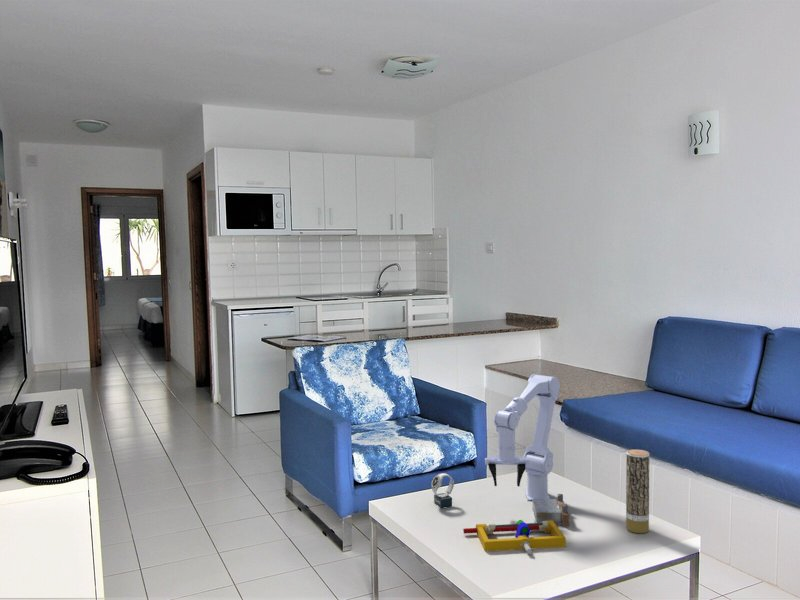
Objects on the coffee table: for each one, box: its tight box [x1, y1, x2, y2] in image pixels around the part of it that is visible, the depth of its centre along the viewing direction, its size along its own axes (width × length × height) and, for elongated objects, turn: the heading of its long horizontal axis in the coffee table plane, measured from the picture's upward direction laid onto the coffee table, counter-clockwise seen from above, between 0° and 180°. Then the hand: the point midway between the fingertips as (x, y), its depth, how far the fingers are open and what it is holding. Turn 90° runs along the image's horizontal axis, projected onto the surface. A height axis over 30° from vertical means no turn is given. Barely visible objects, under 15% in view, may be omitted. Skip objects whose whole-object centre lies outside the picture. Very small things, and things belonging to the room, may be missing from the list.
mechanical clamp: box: [462, 519, 567, 554], centre depth 206 cm, size 18×6×30 cm
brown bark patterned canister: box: [625, 448, 650, 534], centre depth 213 cm, size 7×7×25 cm
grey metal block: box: [531, 498, 562, 525], centre depth 226 cm, size 12×8×4 cm, turn 175°
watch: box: [430, 472, 455, 509], centre depth 238 cm, size 6×8×11 cm
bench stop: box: [555, 493, 570, 528], centre depth 224 cm, size 15×2×6 cm, turn 175°
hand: (506, 485), depth 230 cm, fingers open, 7 cm apart
